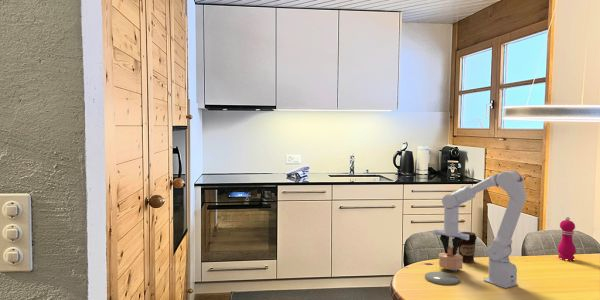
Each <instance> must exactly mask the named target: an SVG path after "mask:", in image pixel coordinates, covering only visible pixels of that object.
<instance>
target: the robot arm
mask: <svg viewBox="0 0 600 300" xmlns="http://www.w3.org/2000/svg"><path fill="white" fill-rule="evenodd" d="M524 183H525V179H524V178H523V176H522V175H521V173H519V172H518V171H517V170H508V171H501V172H499V173H495V174H493V175H490V176H488V177H486V178H485V179H483V180H480V182H477V183H476V184H473V185H472V186H471V185H461V187H460V189H458V190H457V189H456V190H453V191H452V192H451V194H449V193H448V194H445V195H444V196H443V197H442V199H441V203H442V206H443V207H444V208H443V209H444V211H443V213H444V214H443V230H442V229H434V230H433V235H434V236H435V235H436V236H439V241H441V244H442V246H443V249H444V252H445V253H446V254H447V247H450V246H449V243H450V242H449V241H450V238H452V247H453V255H456V254H458V253H457V252H458V250H459V248H458V246H459V244H460V242H461V241H462V239H465V240H469V235H467V234H463V233H461V232H459V212H460V211H459V208H460V206H461V205H462V204H464V203H467V202H468V201H471V200H473V199H475V198H476V194H478V193H481V192H482V191H485V190H487V189H489V188H492V187H499V188H501V189H502V190H503V191H504V192H506V194H507V195H508V197H509V200H508V204H507V205H506V209H505V211H504V214H503V216H502V220H501V222H500V226H499V228H498V230H497V233H496V235H495V237H494V239H493V240H492V242H491V244H490V245H488V246H487V249H486V255H487V257H488V277H486V278H483V281H484V282H486V283H490V284H493V285H495V286H498V287H501V288H503V289H506V288H511V287H514V286H517V285H519V284H518V283H517V279H518V278H517V276H518V275H517V272H518V268H517V266H516V264H514V263H512V262H511V261H510V258H509V256H510V255H511V254H512V251H513V249H512V244H513V240H512V237H513V235H514V233H515V230H516V227H517V224H518V221H519V218H520V217H521V213H522V211H523V208H524V206H525V202H526V201H527V193H526V188H525V184H524Z"/></svg>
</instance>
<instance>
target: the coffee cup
mask: <svg viewBox="0 0 600 300" xmlns="http://www.w3.org/2000/svg"><path fill="white" fill-rule="evenodd" d="M460 233H463V234H467V235H469V240H465V239H462V241H461V242H460V244H459V246H458V254H460V255H462V256H463V259H462V261H465V262H464V263H468V262H471V263H474V262H475V258H474V257H475V252H476V242H477V238H478V236H477V234H476V233H475V232H472V231H471V232H470V231H460Z"/></svg>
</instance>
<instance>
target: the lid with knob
mask: <svg viewBox="0 0 600 300" xmlns="http://www.w3.org/2000/svg"><path fill="white" fill-rule="evenodd" d="M462 259H463V256H462V255H460V254H459V253H456V255H453V246H449V247H447V254H446V253H445V251H444V252H440V253H438V266H439V267H440V268H442V269H444V270H450V271H452V270H462V269H463V262H462Z"/></svg>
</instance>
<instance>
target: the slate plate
mask: <svg viewBox="0 0 600 300" xmlns="http://www.w3.org/2000/svg"><path fill="white" fill-rule="evenodd" d="M424 278H425V280H426V281H428V282H430V283H432V284H436V285H440V286H441V285H442V286H454V285H458V284H459V283H460V277H459V276H457V275H455V274H453V273H449V272H445V271H429V272H426V273H425V274H424Z"/></svg>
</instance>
